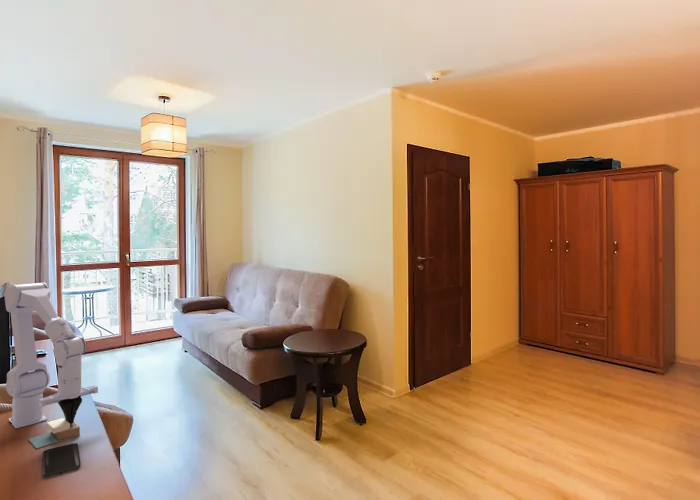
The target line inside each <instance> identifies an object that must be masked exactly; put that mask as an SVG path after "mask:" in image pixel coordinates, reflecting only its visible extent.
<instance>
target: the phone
mask: <svg viewBox="0 0 700 500" xmlns="http://www.w3.org/2000/svg"><path fill="white" fill-rule="evenodd" d="M79 450H80V449H79V444H78V443H77V442H73V443H68V444H64V445H60V446H55V447H51V448H48V449H45V450H43V452H42V459H41V461H42V479H50V478H52V477H56V476H57V477H58V476H61V475H63V474H67V473H71V472H74V471H77V470H79V468H80V469H81V468H82V467H81V465H82V463H81V456H80V451H79Z"/></svg>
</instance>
